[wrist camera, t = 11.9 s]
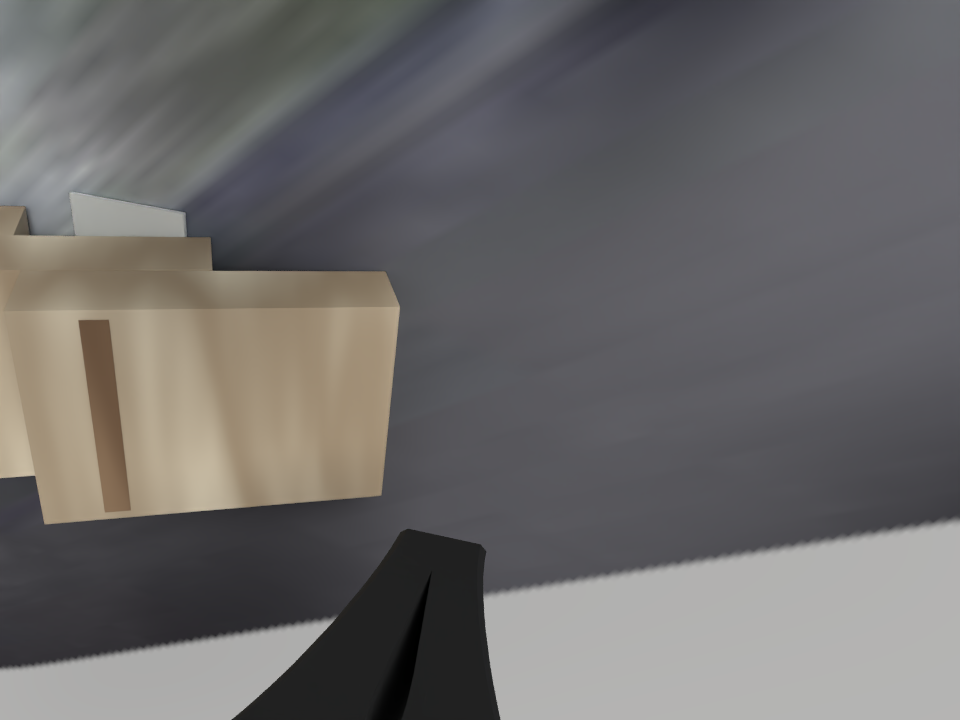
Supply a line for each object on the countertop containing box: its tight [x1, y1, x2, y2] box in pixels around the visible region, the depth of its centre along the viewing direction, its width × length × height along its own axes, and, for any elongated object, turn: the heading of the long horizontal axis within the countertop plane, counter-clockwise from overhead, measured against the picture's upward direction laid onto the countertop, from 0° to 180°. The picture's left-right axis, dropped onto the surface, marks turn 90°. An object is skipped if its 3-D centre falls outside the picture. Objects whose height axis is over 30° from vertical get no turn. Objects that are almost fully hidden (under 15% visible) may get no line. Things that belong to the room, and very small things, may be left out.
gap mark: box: [69, 192, 187, 237], centre depth 19 cm, size 3×6×1 cm, turn 173°
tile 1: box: [4, 270, 400, 524], centre depth 17 cm, size 2×5×7 cm
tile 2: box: [0, 235, 213, 478], centre depth 17 cm, size 2×5×7 cm
